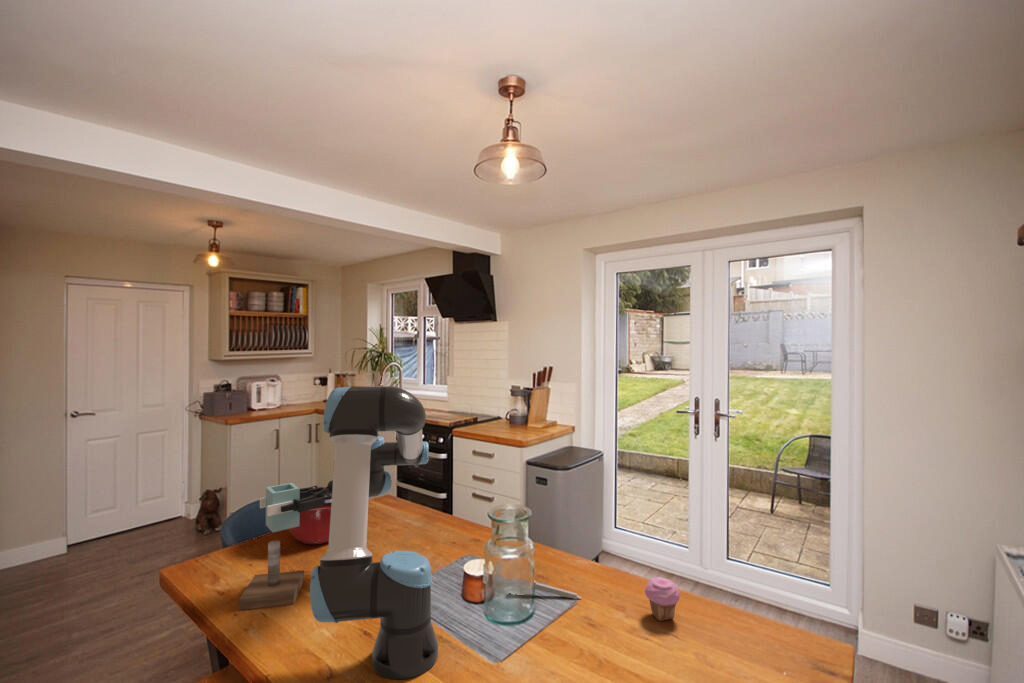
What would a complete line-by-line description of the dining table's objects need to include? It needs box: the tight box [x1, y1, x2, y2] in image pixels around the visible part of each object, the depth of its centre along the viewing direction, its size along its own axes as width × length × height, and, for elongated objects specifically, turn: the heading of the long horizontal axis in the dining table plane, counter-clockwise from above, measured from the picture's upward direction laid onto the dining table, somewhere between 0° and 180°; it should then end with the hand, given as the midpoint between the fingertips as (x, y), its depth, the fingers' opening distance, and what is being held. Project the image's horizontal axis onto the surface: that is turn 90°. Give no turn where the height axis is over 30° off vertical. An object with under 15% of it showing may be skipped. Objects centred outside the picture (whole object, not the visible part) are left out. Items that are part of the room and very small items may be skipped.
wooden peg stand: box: [238, 540, 305, 611], centre depth 139 cm, size 14×14×15 cm
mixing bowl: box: [288, 486, 331, 545], centre depth 181 cm, size 28×28×16 cm
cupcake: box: [644, 576, 681, 622], centre depth 129 cm, size 9×9×10 cm
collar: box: [265, 482, 301, 533], centre depth 138 cm, size 7×7×11 cm
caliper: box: [534, 580, 582, 600], centre depth 139 cm, size 20×1×6 cm, turn 81°
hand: (263, 507), depth 135 cm, fingers closed on collar, 7 cm apart
